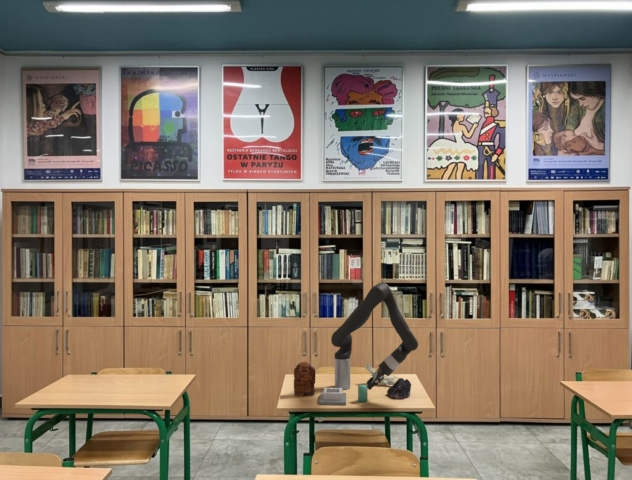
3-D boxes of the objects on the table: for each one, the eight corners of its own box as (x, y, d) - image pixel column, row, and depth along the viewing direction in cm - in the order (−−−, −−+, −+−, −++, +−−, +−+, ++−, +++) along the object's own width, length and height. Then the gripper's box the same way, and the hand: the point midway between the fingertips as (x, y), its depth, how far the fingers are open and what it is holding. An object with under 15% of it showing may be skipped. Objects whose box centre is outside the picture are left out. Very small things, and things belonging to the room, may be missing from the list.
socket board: (320, 395, 275) (320, 386, 275) (345, 395, 274) (345, 386, 274) (319, 404, 258) (319, 395, 258) (346, 405, 257) (345, 395, 257)
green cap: (358, 399, 267) (357, 384, 267) (367, 399, 266) (367, 384, 266) (358, 402, 262) (358, 387, 262) (367, 402, 261) (367, 387, 261)
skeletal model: (407, 388, 288) (376, 359, 289) (397, 399, 289) (365, 370, 289) (403, 380, 305) (373, 352, 305) (393, 391, 305) (363, 363, 305)
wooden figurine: (295, 396, 272) (294, 364, 272) (293, 393, 278) (293, 361, 278) (316, 395, 274) (316, 363, 274) (314, 392, 280) (314, 360, 280)
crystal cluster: (386, 400, 268) (387, 382, 267) (386, 390, 282) (387, 373, 281) (411, 402, 266) (412, 385, 266) (410, 393, 280) (411, 376, 279)
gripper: (383, 357, 271) (362, 377, 271) (385, 363, 257) (363, 385, 257) (392, 366, 270) (372, 387, 271) (395, 373, 256) (373, 395, 257)
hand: (367, 386), depth 264 cm, fingers open, 8 cm apart
